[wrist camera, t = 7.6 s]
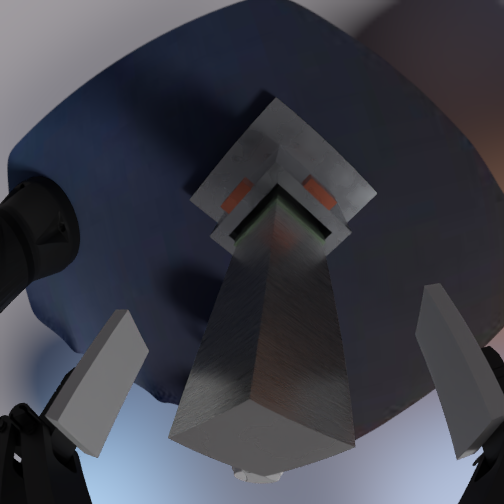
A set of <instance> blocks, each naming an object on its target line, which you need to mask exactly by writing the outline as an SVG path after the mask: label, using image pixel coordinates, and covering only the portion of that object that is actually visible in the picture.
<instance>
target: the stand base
mask: <svg viewBox="0 0 504 504" xmlns="http://www.w3.org/2000/svg"><path fill="white" fill-rule="evenodd" d="M277 184H279V185H280V186H281V187H282V188H284V189H285V190H286V191H287V192H288V193H289V194H290V195H292V196H293V197H294V198H295V199H296V200H297V201H298V202H299V203H301V204H302V205H303V206H304V207H305V208H306V209H307V210H308V211H309V212H310V213H312V214H313V215H314V216H315V217H316V218H317V221H318V225H319V229H320V232H321V233H322V234H323V235H324V237H325V241H326V243H325V244H324V245H323V247H324V251H325V256H327V255H328V254H329V253H330V252H331V251H332V250H333V249H334V248H335V247H337V246H338V245H339V244H340V243H341V242H342V241H343V240H344V239H345V238H346V237H347V236H348V235H350V234H351V233H352V232H351V230H350V228H349V225H348V223H347V222H348V221H349V220H350V219H351V218H352V217H353V216H354V215H355V214H356V213H358V212H359V211H360V210H361V209H362V208H363V207H364V206H365V205H366V204H367V203H368V202H369V201H370V200H371V199H372V198H373V197H374V196H375V195H376V194H377V193H376V191H375V190H374V189H373V188H372V187H371V186H370V185H369V184H368V183H367V182H366V181H365V180H364V179H363V177H362V176H361V175H360V174H359V173H358V172H357V171H356V170H355V169H354V168H353V167H352V166H351V165H350V164H349V163H348V162H347V161H346V160H345V159H344V158H343V157H342V156H341V155H340V154H339V153H338V152H337V151H336V150H335V149H334V148H333V147H332V146H331V145H330V144H329V143H327V142H326V141H325V140H324V139H323V138H322V137H321V136H320V135H319V134H318V133H317V132H316V131H315V130H313V129H312V128H311V127H310V126H309V125H308V124H307V123H306V122H305V121H303V120H302V119H301V118H300V117H299V116H298V115H297V114H295V113H294V112H293V111H292V110H291V109H289V108H288V107H287V106H286V105H285V104H284V103H282V102H281V101H280V100H279V99H277V98H275V99H274V100H273V101H272V102H271V103H270V104H269V105H268V106H267V108H266V109H265V110H264V111H263V112H262V113H261V114H260V115H259V116H258V118H257V119H256V120H255V121H254V122H253V123H252V124H251V125H250V127H249V128H248V129H247V130H246V131H245V132H244V134H243V135H242V136H241V137H240V138H239V139H238V141H237V142H236V143H235V144H234V145H233V146H232V148H231V149H230V150H229V151H228V152H227V154H226V155H225V156H224V157H223V158H222V160H221V161H220V162H219V163H218V165H217V166H216V167H215V168H214V169H213V171H212V172H211V173H210V174H209V176H208V177H207V178H206V179H205V181H204V182H203V183H202V185H201V186H200V187H199V188H198V190H197V191H196V192H195V194H194V195H193V196H192V197H191V199H190V201H191V202H193V203H194V204H195V205H196V206H198V207H199V208H200V209H201V210H203V211H204V212H205V213H206V214H208V215H209V216H210V217H211V218H212V219H214V220H215V221H216V222H217V225H216V226H215V228H214V230H213V231H212V233H211V235H210V237H211V238H212V239H213V240H215V241H216V242H217V243H218V244H220V245H221V246H222V247H223V248H225V249H226V250H227V251H228V252H230V253H231V254H232V255H233V253H234V250H235V248H236V247H235V246H234V242H235V240H236V237H237V236H238V235H239V234H240V233H241V232H242V229H243V226H244V224H245V221H246V218H247V216H248V215H249V214H250V213H251V212H252V211H253V210H254V209H255V208H256V207H257V206H258V205H259V203H260V202H261V201H262V200H263V199H264V198H265V197H266V196H267V195H268V194H269V193H270V192H271V191H272V189H273V188H274V187H275V186H276V185H277Z"/></svg>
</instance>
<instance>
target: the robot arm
mask: <svg viewBox="0 0 504 504" xmlns="http://www.w3.org/2000/svg"><path fill="white" fill-rule="evenodd" d="M79 244H80V232H79V226H78V221H77V218H76V214H75V212H74V209H73V207H72V205H71V203H70V201H69V199H68V198H67V196H66V195H65V193H64V192H63V191H62V190H61V188H60V187H59V186H58V185H57V184H55V183H54V182H53V181H51V180H49V179H48V178H45V177H41V176H36V177H32V178H29V179H27V180H25V181H23V182H21V183H19V184H18V185H17V186H16V187H15V188H14V189H13V190H12V191H11V192H10V193H9V194H8V195H7V197H6V198H5V199H4V200H3V201H2V202H1V204H0V313H1V312H2V311H3V310H4V309H5V308H6V307H7V306H8V305H9V304H10V303H11V301H13V300H14V299H15V298H16V297H17V296H18V295H19V294H20V293H21V292H22V291H23V290H24V289H25V288H26V287H27V286H28V285H29V284H30V283H32V282H33V281H35V280H38V279H41V278H44V277H47V276H50V275H52V274H55V273H58V272H60V271H62V270H64V269H65V268H66V267H67V266H68V265H69V264H70V263H72V262H73V260H74V259H75V257H76V255H77V253H78V250H79ZM415 336H416V338H417V341H418V343H419V346H420V348H421V351H422V353H423V356H424V358H425V361H426V363H427V366H428V369H429V371H430V374H431V377H432V379H433V382H434V385H435V388H436V391H437V393H438V396H439V399H440V402H441V405H442V408H443V412H444V415H445V418H446V421H447V424H448V428H449V431H450V435H451V438H452V442H453V446H454V450H455V454H456V458H457V460H459V459H461V458H464V457H467V456H469V455H472V454H474V453H475V452H476V451H478V450H479V448H480V447H481V446H482V447H483V451H484V452H483V453H482V455H480V456H479V457H478V458H477V460H475V462H474V463H473V466H475V465H476V464H477V463H478V465H477V467H476V469H475V472H474V474H473V476H472V478H471V480H470V482H469V484H468V486H467V488H466V490H465V492H464V494H463V496H462V498H461V499H460V502H459V503H458V504H504V362H503V360H502V359H501V357H500V355H499V354H498V353H497V352H496V351H495V350H494V349H493V348H491V347H490V346H487V347H484V348H481V349H480V347H479V345H478V343H477V341H476V340H475V338H474V336H473V334H472V333H471V331H470V329H469V328H468V326H467V324H466V323H465V321H464V319H463V318H462V316H461V315H460V313H459V311H458V310H457V308H456V307H455V305H454V304H453V302H452V301H451V299H450V297H449V296H448V294H447V293H446V291H445V290H444V289H443V287H442V286H441V284H440V283H439V284H432V285H426V286H424V292H423V298H422V303H421V309H420V314H419V319H418V323H417V328H416V333H415ZM148 352H149V350H148V348H147V347H146V345H145V343H144V341H143V339H142V337H141V335H140V333H139V331H138V329H137V327H136V325H135V323H134V321H133V319H132V317H131V314H130V312H129V310H115V312H114V313H113V314H112V316H111V317H110V319H109V320H108V321H107V323H106V324H105V325H104V327H103V328H102V330H101V331H100V332H99V334H98V335H97V337H96V338H95V340H94V341H93V342H92V344H91V345H90V347H89V348H88V350H87V351H86V353H85V354H84V356H83V357H82V359H81V360H80V361H79V363H78V364H77V366H76V367H75V368H73V369H72V370H71V371H70V372H68V373H67V374H66V375H65V377H64V378H63V380H62V382H61V385H59V386H58V388H57V389H56V392H54V394H53V396H52V397H51V399H50V400H49V402H48V404H47V405H46V407H45V409H44V410H43V412H42V413H41V415H40V416H38V415H37V414H36V413H35V412H34V411H33V410H32V409H31V408H30V407H29V406H28V405H27V404H25V403H20V404H18V405H16V406H14V408H13V409H12V410H11V412H10V413H9V416H6V415H4V416H1V417H0V504H92V502H91V499H90V496H89V492H88V489H87V486H86V482H85V479H84V475H83V471H82V467H81V464H80V459H79V456H78V453H77V452H76V451H75V449H76V447H78V448H79V449H80V450H82V451H83V452H84V453H86V454H88V455H91V456H94V457H96V458H98V457H99V454H100V452H101V450H102V448H103V446H104V443H105V441H106V439H107V436H108V435H109V432H110V430H111V428H112V426H113V424H114V422H115V419H116V417H117V415H118V413H119V411H120V409H121V407H122V405H123V403H124V400H125V398H126V396H127V394H128V392H129V390H130V388H131V386H132V384H133V382H134V380H135V378H136V376H137V374H138V372H139V370H140V368H141V366H142V364H143V362H144V360H145V358H146V356H147V354H148ZM14 453H16V454H17V455H18V456H19V457H20V458H22V460H21V462H18V461H17V460H16V459H14Z"/></svg>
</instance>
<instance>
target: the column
mask: <svg viewBox="0 0 504 504" xmlns="http://www.w3.org/2000/svg"><path fill="white" fill-rule="evenodd" d="M325 243H326V241H325V237H324V235H323V234H322V233H321V232H320V229H319V225H318V221H317V218H316V217H315V216H314V215H313V214H312V213H310V212H309V211H308V210H307V209H306V208H305V207H304V206H303V205H302V204H301V203H299V202H298V201H297V200H296V199H295V198H294V197H293V196H292V195H290V194H289V193H288V192H287V191H286V190H285V189H284V188H282V187H281V186H280V185H279V184H277V185H276V186H275V187H274V188H273V189H272V191H271V192H270V193H269V194H268V195H267V196H266V197H265V198H264V199H263V200H262V201H261V202H260V203H259V205H258V206H257V207H256V208H255V209H254V210H253V211H252V212H251V213H250V214H249V215H248V216H247V218H246V221H245V224H244V226H243V229H242V232H241V233H240V234H239V235H238V236H237V237H236V240H235V242H234V246H235V247H236V248H235V250H234V253H233V256H232V258H231V261H230V264H229V267H228V269H227V272H226V275H225V277H224V280H223V283H222V286H221V288H220V291H219V294H218V297H217V299H216V302H215V305H214V308H213V310H212V313H211V316H210V319H209V321H208V324H207V327H206V330H205V333H204V335H203V338H202V341H201V344H200V347H199V349H198V352H197V355H196V358H195V361H194V364H193V366H192V369H191V372H190V375H189V378H188V381H187V384H186V386H185V389H184V392H183V395H182V398H181V401H180V404H179V407H178V410H177V413H176V416H175V419H174V421H173V425H172V427H171V430H170V433H169V436H168V438H169V439H171V440H173V441H175V442H177V443H179V444H181V445H183V446H185V447H188V448H190V449H192V450H194V451H196V452H199V453H201V454H203V455H206V456H208V457H210V458H213V459H216V460H218V461H221V462H223V463H226V464H228V465H231V466H233V467H236V468H239V469H242V470H245V471H248V472H251V473H254V474H257V475H260V476H263V477H265V476H269V475H273V474H277V473H281V472H284V471H288V470H291V469H295V468H298V467H302V466H304V465H308V464H311V463H314V462H317V461H320V460H323V459H325V458H328V457H331V456H334V455H337V454H339V453H342V452H344V451H347V450H349V449H351V448H354V447H355V437H354V427H353V418H352V409H351V400H350V392H349V385H348V377H347V370H346V364H345V357H344V351H343V344H342V338H341V332H340V326H339V321H338V315H337V310H336V304H335V299H334V294H333V289H332V284H331V279H330V274H329V269H328V265H327V260H326V256H325V251H324V247H323V245H324V244H325Z"/></svg>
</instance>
